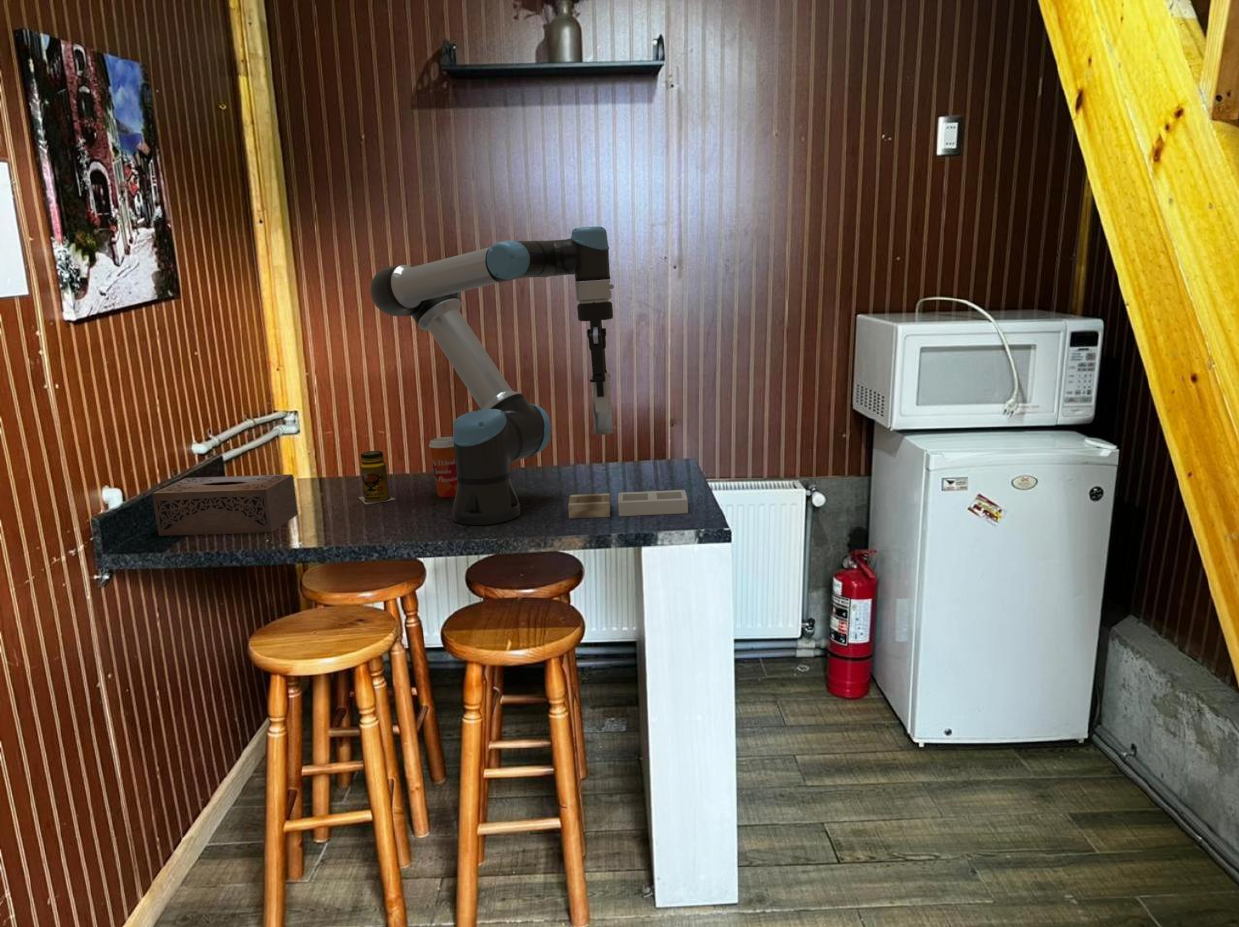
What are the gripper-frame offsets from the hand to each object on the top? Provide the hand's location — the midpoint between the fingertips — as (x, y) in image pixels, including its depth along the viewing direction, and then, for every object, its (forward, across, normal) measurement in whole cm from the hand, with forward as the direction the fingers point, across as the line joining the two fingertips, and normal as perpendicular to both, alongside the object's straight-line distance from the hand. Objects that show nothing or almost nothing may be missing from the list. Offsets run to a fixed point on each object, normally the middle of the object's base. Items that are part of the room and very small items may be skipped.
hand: (602, 409), depth 198 cm
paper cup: (+22, +22, +41) cm, 51 cm away
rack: (+23, +1, -10) cm, 25 cm away
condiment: (+22, +20, +59) cm, 66 cm away
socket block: (+23, +1, +4) cm, 23 cm away
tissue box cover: (+22, +2, +87) cm, 90 cm away
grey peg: (+5, 0, 0) cm, 5 cm away
